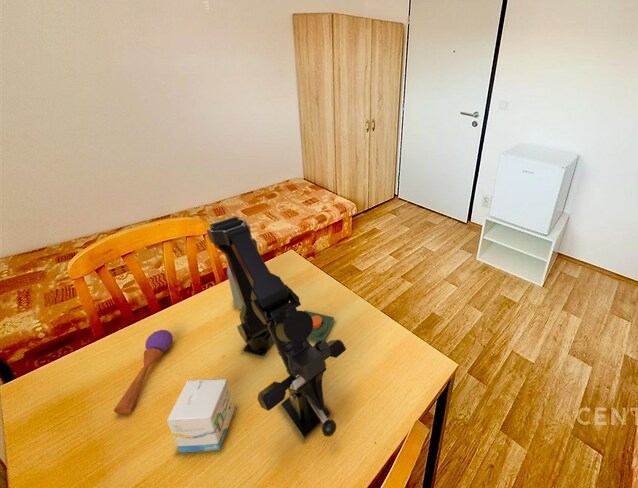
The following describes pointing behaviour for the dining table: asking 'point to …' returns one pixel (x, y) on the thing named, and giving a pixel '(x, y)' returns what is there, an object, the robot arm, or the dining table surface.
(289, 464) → the dining table surface
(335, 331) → the dining table surface
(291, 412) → the bracket
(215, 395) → the ink box
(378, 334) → the dining table surface
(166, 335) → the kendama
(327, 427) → the lever
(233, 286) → the water bottle
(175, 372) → the dining table surface
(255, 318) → the robot arm
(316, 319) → the button
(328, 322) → the button panel
